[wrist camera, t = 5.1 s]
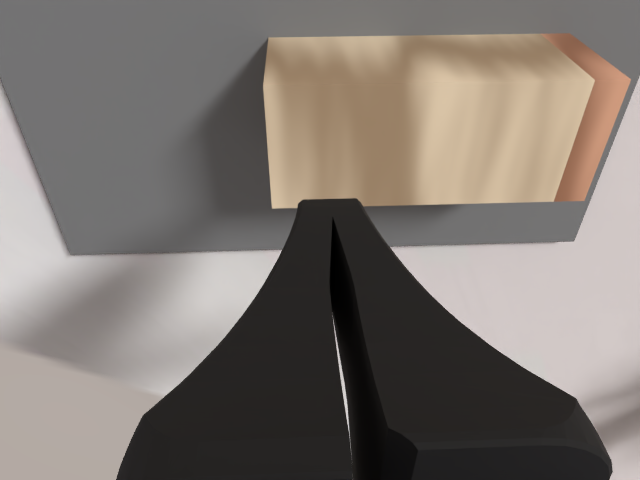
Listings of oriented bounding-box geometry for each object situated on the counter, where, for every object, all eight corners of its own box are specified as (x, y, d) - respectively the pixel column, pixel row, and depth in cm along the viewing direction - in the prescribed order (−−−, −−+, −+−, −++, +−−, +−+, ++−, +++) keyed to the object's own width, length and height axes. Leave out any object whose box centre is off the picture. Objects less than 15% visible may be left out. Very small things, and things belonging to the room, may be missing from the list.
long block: (272, 208, 16) (584, 200, 17) (262, 85, 14) (631, 79, 14) (275, 146, 19) (538, 141, 20) (268, 37, 17) (569, 33, 17)
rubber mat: (74, 247, 23) (70, 255, 22) (-81, -156, 14) (-92, -155, 13) (569, 234, 23) (574, 241, 23) (719, -157, 15) (731, -157, 14)
